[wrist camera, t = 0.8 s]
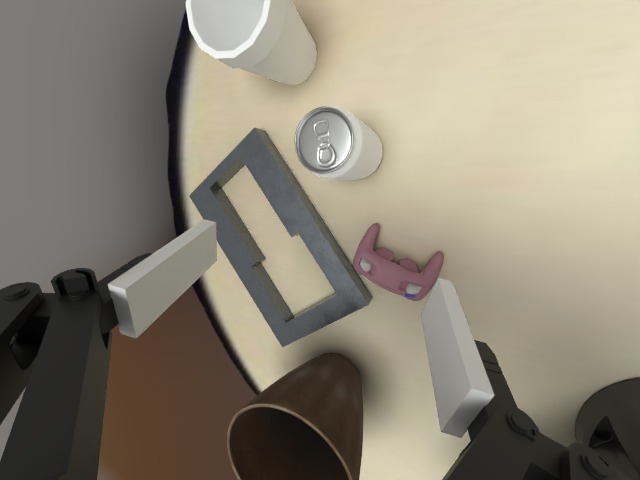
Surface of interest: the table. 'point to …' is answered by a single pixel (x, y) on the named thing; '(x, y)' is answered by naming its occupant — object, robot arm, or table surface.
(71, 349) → the robot arm
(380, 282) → the video game controller
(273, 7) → the foam cup
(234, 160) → the keyhole plate
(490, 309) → the table surface
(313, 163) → the can
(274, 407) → the plant pot
